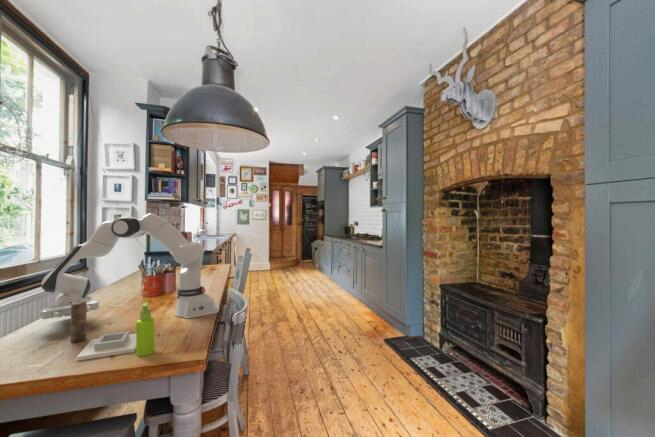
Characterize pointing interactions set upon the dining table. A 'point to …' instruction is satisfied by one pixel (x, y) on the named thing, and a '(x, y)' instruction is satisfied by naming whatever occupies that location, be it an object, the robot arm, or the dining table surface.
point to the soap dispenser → (145, 332)
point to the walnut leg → (78, 321)
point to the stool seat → (109, 346)
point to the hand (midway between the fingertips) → (73, 312)
